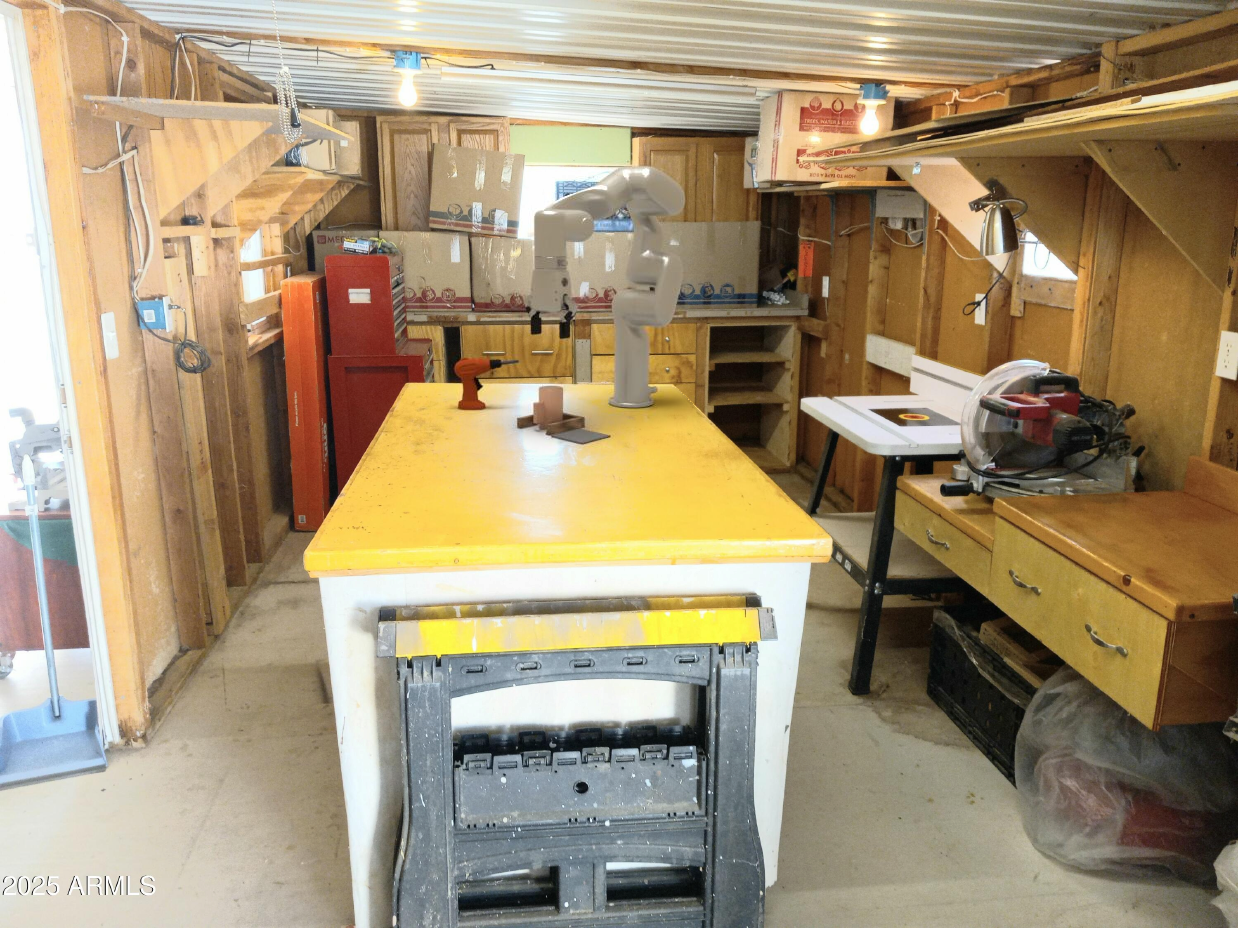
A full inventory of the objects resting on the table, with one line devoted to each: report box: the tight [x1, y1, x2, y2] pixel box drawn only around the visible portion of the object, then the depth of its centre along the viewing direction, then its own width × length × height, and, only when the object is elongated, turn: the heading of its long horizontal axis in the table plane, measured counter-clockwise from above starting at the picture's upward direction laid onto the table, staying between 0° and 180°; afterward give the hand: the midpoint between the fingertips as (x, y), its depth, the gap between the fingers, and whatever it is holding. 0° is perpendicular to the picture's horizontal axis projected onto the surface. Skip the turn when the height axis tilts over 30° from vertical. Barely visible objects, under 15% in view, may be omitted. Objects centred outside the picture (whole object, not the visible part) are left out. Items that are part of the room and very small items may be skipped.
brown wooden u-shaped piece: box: [516, 412, 586, 436], centre depth 229 cm, size 12×11×2 cm
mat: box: [550, 428, 611, 445], centre depth 220 cm, size 10×10×1 cm
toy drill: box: [453, 356, 520, 411], centre depth 248 cm, size 5×18×14 cm, turn 96°
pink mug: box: [532, 385, 564, 431], centre depth 227 cm, size 8×6×10 cm
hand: (550, 336), depth 223 cm, fingers open, 9 cm apart
